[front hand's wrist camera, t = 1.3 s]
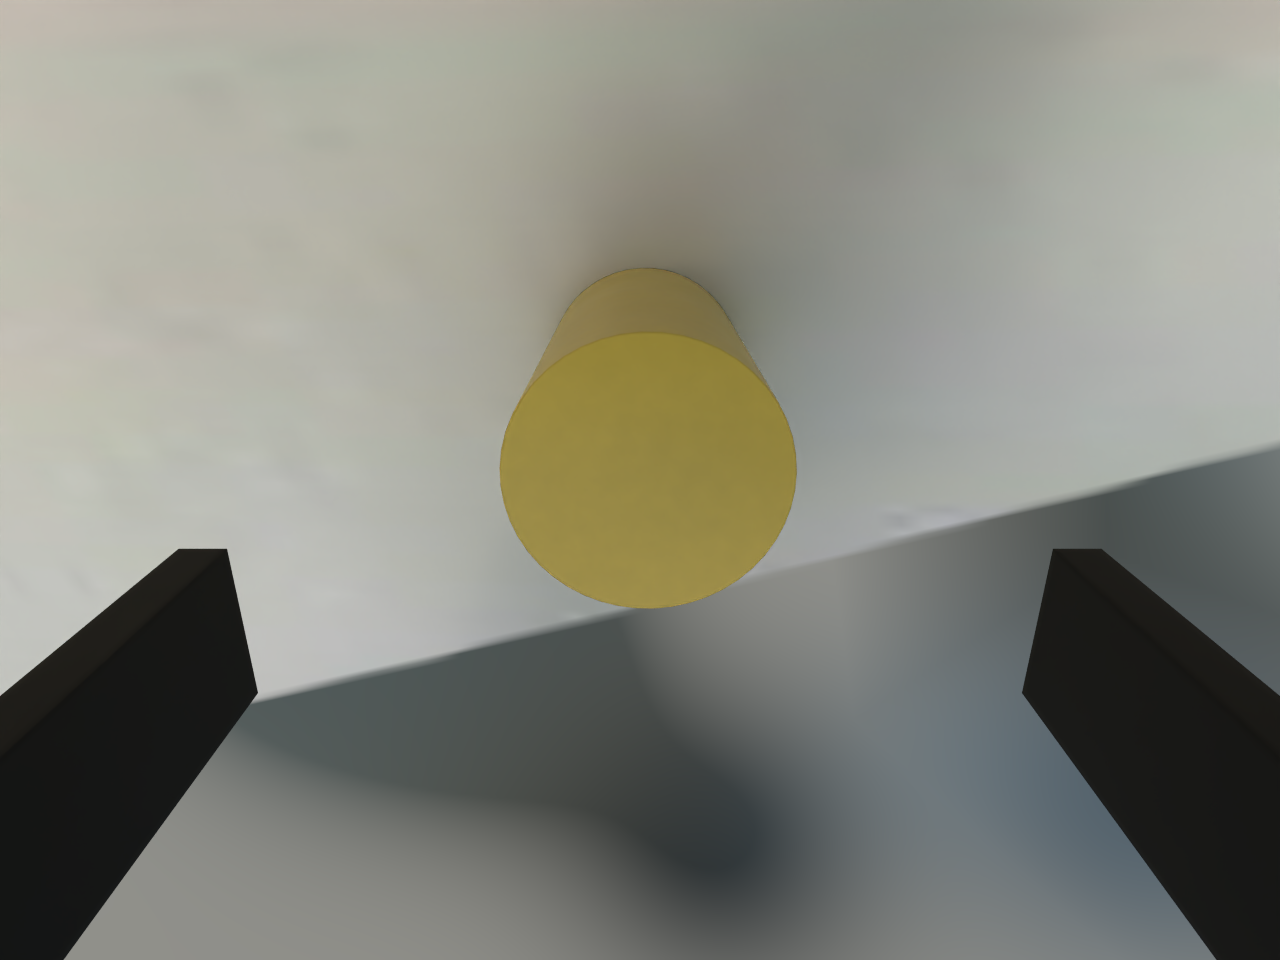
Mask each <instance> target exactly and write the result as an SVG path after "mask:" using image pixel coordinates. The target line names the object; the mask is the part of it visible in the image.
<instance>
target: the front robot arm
mask: <svg viewBox="0 0 1280 960" xmlns="http://www.w3.org/2000/svg"><path fill="white" fill-rule="evenodd" d="M257 694H258V691H257V686H256V682H255V677H254V672H253V668H252V663H251V658H250V654H249V649H248V644H247V640H246V635H245V631H244V626H243V621H242V617H241V612H240V607H239V603H238V598H237V593H236V589H235V584H234V579H233V575H232V570H231V566H230V561H229V556H228V552H227V549H178V550H177V551H176V552H174V553H173V554H172V555H171V556H169V557H168V558H167V559H166V560H165V561H163V562H162V563H161V564H160V565H159V566H157V567H156V568H155V569H154V570H152V571H151V572H150V573H149V574H148V575H146V576H145V577H144V578H143V579H142V580H140V581H139V582H138V583H137V584H135V585H134V586H133V587H132V588H131V589H129V590H128V591H127V592H126V593H125V594H123V595H122V596H121V597H120V598H119V599H117V600H116V601H115V602H114V603H112V604H111V605H110V606H109V607H108V608H106V609H105V610H104V611H103V612H102V613H100V614H99V615H98V616H97V617H95V618H94V619H93V620H92V621H91V622H89V623H88V624H87V625H86V626H85V627H83V628H82V629H81V630H80V631H78V632H77V633H76V634H75V635H74V636H72V637H71V638H70V639H69V640H68V641H66V642H65V643H64V644H63V645H61V646H60V647H59V648H58V649H57V650H55V651H54V652H53V653H52V654H51V655H49V656H48V657H47V658H46V659H44V660H43V661H42V662H41V663H40V664H38V665H37V666H36V667H35V668H34V669H32V670H31V671H30V672H29V673H28V674H26V675H25V676H24V677H23V678H21V679H20V680H19V681H18V682H17V683H15V684H14V685H13V686H12V687H11V688H9V689H8V690H7V691H6V692H4V693H3V694H2V695H1V696H0V960H64V958H65V957H66V956H67V954H68V953H69V951H70V950H71V949H72V947H73V946H74V945H75V943H76V942H77V941H78V939H79V938H80V936H81V935H82V934H83V932H84V931H85V930H86V928H87V927H88V925H89V924H90V923H91V921H92V920H93V919H94V917H95V916H96V914H97V913H98V912H99V910H100V909H101V908H102V906H103V905H104V903H105V902H106V901H107V899H108V898H109V897H110V895H111V894H112V893H113V891H114V890H115V888H116V887H117V886H118V884H119V883H120V882H121V880H122V879H123V877H124V876H125V875H126V873H127V872H128V871H129V869H130V868H131V866H132V865H133V864H134V862H135V861H136V860H137V858H138V857H139V855H140V854H141V853H142V851H143V850H144V848H145V847H146V846H147V844H148V843H149V842H150V840H151V839H152V838H153V836H154V835H155V833H156V832H157V831H158V829H159V828H160V827H161V825H162V824H163V823H164V821H165V820H166V818H167V817H168V816H169V814H170V813H171V811H172V810H173V809H174V807H175V806H176V805H177V803H178V802H179V801H180V799H181V798H182V796H183V795H184V794H185V792H186V791H187V790H188V788H189V787H190V785H191V784H192V783H193V781H194V780H195V779H196V777H197V776H198V775H199V773H200V772H201V770H202V769H203V768H204V766H205V765H206V763H207V762H208V761H209V759H210V758H211V757H212V755H213V754H214V753H215V751H216V750H217V748H218V747H219V746H220V744H221V743H222V742H223V740H224V739H225V737H226V736H227V735H228V733H229V732H230V731H231V729H232V728H233V726H234V725H235V724H236V722H237V721H238V720H239V718H240V717H241V716H242V714H243V713H244V711H245V710H246V709H247V707H248V706H249V705H250V703H251V702H252V700H253V699H254V698H255V696H256V695H257ZM1022 694H1023V695H1024V696H1025V698H1026V699H1027V700H1028V702H1029V703H1030V705H1031V706H1032V707H1033V709H1034V710H1035V711H1036V713H1037V714H1038V716H1039V717H1040V718H1041V720H1042V721H1043V722H1044V724H1045V725H1046V726H1047V728H1048V729H1049V731H1050V732H1051V733H1052V735H1053V736H1054V737H1055V739H1056V740H1057V742H1058V743H1059V744H1060V746H1061V747H1062V748H1063V750H1064V751H1065V753H1066V754H1067V755H1068V757H1069V758H1070V759H1071V761H1072V762H1073V764H1074V765H1075V766H1076V768H1077V769H1078V770H1079V772H1080V773H1081V775H1082V776H1083V777H1084V779H1085V780H1086V781H1087V783H1088V784H1089V785H1090V787H1091V788H1092V790H1093V791H1094V792H1095V794H1096V795H1097V796H1098V798H1099V799H1100V801H1101V802H1102V803H1103V805H1104V806H1105V807H1106V809H1107V810H1108V812H1109V813H1110V814H1111V816H1112V817H1113V818H1114V820H1115V821H1116V823H1117V824H1118V825H1119V827H1120V828H1121V829H1122V831H1123V832H1124V834H1125V835H1126V836H1127V838H1128V839H1129V840H1130V842H1131V843H1132V844H1133V846H1134V847H1135V849H1136V850H1137V851H1138V853H1139V854H1140V855H1141V857H1142V858H1143V860H1144V861H1145V862H1146V864H1147V865H1148V866H1149V868H1150V869H1151V871H1152V872H1153V873H1154V875H1155V876H1156V877H1157V879H1158V880H1159V882H1160V883H1161V884H1162V886H1163V887H1164V888H1165V890H1166V891H1167V893H1168V894H1169V895H1170V897H1171V898H1172V899H1173V901H1174V902H1175V903H1176V905H1177V906H1178V908H1179V909H1180V910H1181V912H1182V913H1183V914H1184V916H1185V917H1186V919H1187V920H1188V921H1189V923H1190V924H1191V925H1192V927H1193V928H1194V929H1195V931H1196V932H1197V934H1198V935H1199V936H1200V938H1201V939H1202V940H1203V942H1204V943H1205V945H1206V946H1207V947H1208V949H1209V950H1210V952H1211V953H1212V954H1213V956H1214V957H1215V958H1216V960H1280V696H1279V695H1278V694H1277V693H1276V692H1274V691H1273V690H1272V689H1271V688H1269V687H1268V686H1267V685H1266V684H1265V683H1263V682H1262V681H1261V680H1260V679H1259V678H1257V677H1256V676H1255V675H1254V674H1252V673H1251V672H1250V671H1249V670H1248V669H1246V668H1245V667H1244V666H1243V665H1242V664H1240V663H1239V662H1238V661H1237V660H1235V659H1234V658H1233V657H1232V656H1231V655H1229V654H1228V653H1227V652H1226V651H1225V650H1223V649H1222V648H1221V647H1220V646H1219V645H1217V644H1216V643H1215V642H1214V641H1212V640H1211V639H1210V638H1209V637H1208V636H1206V635H1205V634H1204V633H1203V632H1201V631H1200V630H1199V629H1198V628H1197V627H1195V626H1194V625H1193V624H1192V623H1191V622H1189V621H1188V620H1187V619H1186V618H1185V617H1183V616H1182V615H1181V614H1180V613H1178V612H1177V611H1176V610H1175V609H1174V608H1172V607H1171V606H1170V605H1169V604H1168V603H1166V602H1165V601H1164V600H1163V599H1161V598H1160V597H1159V596H1158V595H1157V594H1155V593H1154V592H1153V591H1152V590H1151V589H1149V588H1148V587H1147V586H1146V585H1144V584H1143V583H1142V582H1141V581H1140V580H1138V579H1137V578H1136V577H1135V576H1134V575H1132V574H1131V573H1130V572H1129V571H1127V570H1126V569H1125V568H1124V567H1123V566H1121V565H1120V564H1119V563H1118V562H1117V561H1115V560H1114V559H1113V558H1112V557H1111V556H1109V555H1108V554H1107V553H1106V552H1104V551H1103V550H1102V549H1053V552H1052V556H1051V561H1050V566H1049V570H1048V575H1047V579H1046V584H1045V589H1044V593H1043V598H1042V603H1041V608H1040V612H1039V617H1038V621H1037V626H1036V631H1035V635H1034V640H1033V645H1032V649H1031V654H1030V658H1029V663H1028V668H1027V672H1026V677H1025V682H1024V686H1023V691H1022Z"/></svg>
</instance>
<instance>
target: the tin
mask: <svg viewBox="0 0 1280 960" xmlns="http://www.w3.org/2000/svg"><path fill="white" fill-rule="evenodd" d="M796 475H797V467H796V452H795V447H794V441H793V436H792V433H791V430H790V427H789V424H788V421H787V419H786V417H785V415H784V413H783V411H782V409H781V407H780V405H779V403H778V401H777V399H776V398H775V396H774V394H773V393H772V391H771V389H770V388H769V386H768V384H767V383H766V381H765V379H764V378H763V376H762V374H761V372H760V371H759V369H758V367H757V366H756V364H755V362H754V361H753V359H752V357H751V356H750V354H749V352H748V351H747V349H746V347H745V346H744V344H743V342H742V341H741V339H740V337H739V336H738V334H737V332H736V331H735V329H734V327H733V326H732V324H731V322H730V321H729V319H728V317H727V316H726V314H725V312H724V311H723V309H722V308H721V307H720V305H719V304H718V302H717V301H716V300H715V299H714V298H713V297H712V296H711V295H710V294H709V293H708V292H707V291H706V290H704V289H703V288H702V287H701V286H700V285H698V284H696V283H695V282H693V281H692V280H690V279H688V278H686V277H684V276H681V275H679V274H677V273H673V272H670V271H666V270H660V269H654V268H637V269H629V270H624V271H621V272H617V273H614V274H611V275H609V276H606V277H604V278H602V279H600V280H599V281H597V282H595V283H594V284H592V285H591V286H589V287H588V288H587V289H586V290H584V291H583V292H582V293H581V294H580V295H579V296H578V297H577V298H576V299H575V300H574V301H573V303H572V304H571V305H570V307H569V308H568V309H567V311H566V313H565V314H564V316H563V318H562V320H561V322H560V324H559V325H558V327H557V329H556V331H555V333H554V335H553V337H552V339H551V341H550V343H549V345H548V347H547V348H546V350H545V352H544V354H543V356H542V358H541V360H540V362H539V364H538V366H537V368H536V370H535V372H534V373H533V375H532V377H531V379H530V381H529V383H528V385H527V387H526V389H525V391H524V393H523V395H522V397H521V398H520V400H519V402H518V404H517V406H516V408H515V410H514V412H513V414H512V416H511V419H510V421H509V424H508V427H507V429H506V432H505V436H504V440H503V444H502V449H501V458H500V485H501V491H502V496H503V501H504V505H505V508H506V511H507V514H508V517H509V520H510V522H511V524H512V526H513V528H514V530H515V532H516V534H517V536H518V538H519V539H520V541H521V542H522V544H523V545H524V547H525V548H526V549H527V551H528V552H529V553H530V554H531V556H532V557H533V558H534V559H535V560H536V561H537V562H538V564H539V565H540V566H542V567H543V568H544V569H545V570H546V571H547V572H548V573H549V574H551V575H552V576H553V577H554V578H556V579H557V580H559V581H560V582H562V583H563V584H565V585H566V586H567V587H569V588H571V589H573V590H575V591H577V592H579V593H581V594H583V595H585V596H588V597H590V598H593V599H596V600H598V601H601V602H605V603H609V604H613V605H617V606H624V607H631V608H663V607H672V606H677V605H682V604H687V603H691V602H694V601H697V600H700V599H703V598H705V597H708V596H710V595H712V594H714V593H716V592H718V591H721V590H723V589H724V588H726V587H728V586H729V585H731V584H732V583H734V582H735V581H737V580H739V579H740V578H741V577H742V576H744V575H745V574H746V573H747V572H748V571H750V570H751V569H752V568H753V567H754V566H755V565H756V564H757V563H758V562H759V561H760V560H761V559H762V558H763V557H764V556H765V554H766V553H767V552H768V550H769V549H770V547H771V546H772V545H773V543H774V542H775V541H776V539H777V537H778V535H779V533H780V532H781V530H782V528H783V526H784V524H785V522H786V519H787V517H788V514H789V511H790V509H791V505H792V501H793V497H794V493H795V485H796Z"/></svg>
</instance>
